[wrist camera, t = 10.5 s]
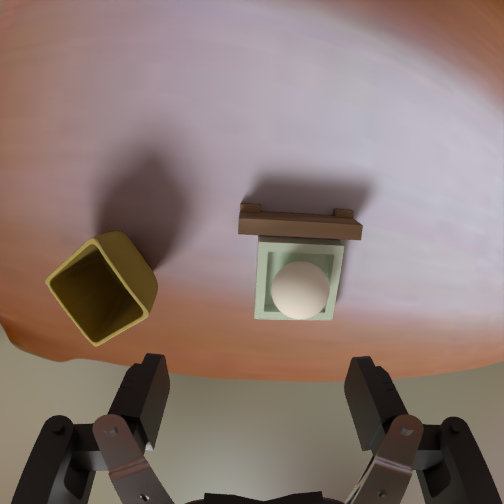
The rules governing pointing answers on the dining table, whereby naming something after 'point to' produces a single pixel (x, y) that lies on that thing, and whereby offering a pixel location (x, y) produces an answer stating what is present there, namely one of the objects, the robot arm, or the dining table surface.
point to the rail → (298, 224)
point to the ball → (300, 290)
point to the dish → (287, 251)
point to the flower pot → (105, 286)
